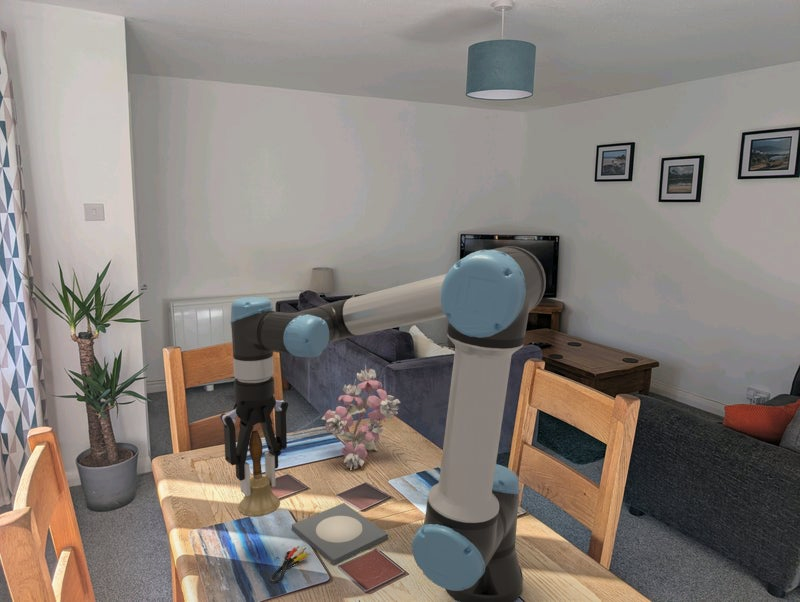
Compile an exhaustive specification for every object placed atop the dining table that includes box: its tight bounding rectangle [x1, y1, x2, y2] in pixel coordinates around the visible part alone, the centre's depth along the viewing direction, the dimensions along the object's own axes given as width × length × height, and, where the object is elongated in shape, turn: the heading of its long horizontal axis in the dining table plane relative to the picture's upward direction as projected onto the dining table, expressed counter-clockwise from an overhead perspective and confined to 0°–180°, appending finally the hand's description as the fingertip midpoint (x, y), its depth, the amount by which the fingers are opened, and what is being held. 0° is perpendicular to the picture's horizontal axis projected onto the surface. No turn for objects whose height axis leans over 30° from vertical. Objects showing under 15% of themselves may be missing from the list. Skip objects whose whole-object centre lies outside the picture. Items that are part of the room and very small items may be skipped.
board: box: [291, 502, 389, 566], centre depth 123 cm, size 16×14×1 cm
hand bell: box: [237, 430, 281, 518], centre depth 113 cm, size 8×8×16 cm
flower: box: [320, 364, 402, 471], centre depth 158 cm, size 20×22×25 cm
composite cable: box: [270, 545, 312, 584], centre depth 111 cm, size 10×5×2 cm, turn 147°
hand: (258, 488), depth 114 cm, fingers closed on hand bell, 5 cm apart
